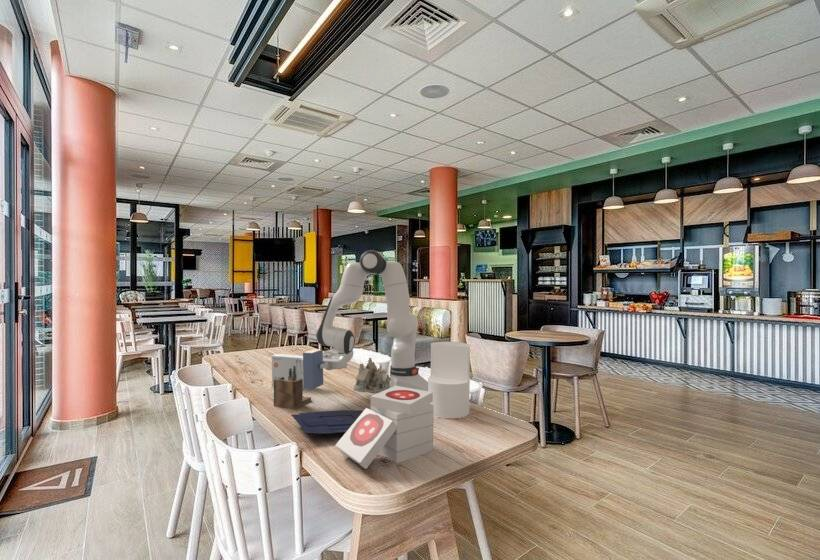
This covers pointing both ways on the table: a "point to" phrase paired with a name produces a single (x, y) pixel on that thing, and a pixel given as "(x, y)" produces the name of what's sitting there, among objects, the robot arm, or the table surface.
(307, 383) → the tall blue pillar
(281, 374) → the skincare box
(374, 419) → the pizza boxes
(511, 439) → the table surface
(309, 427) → the navy flat slab
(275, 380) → the shelf
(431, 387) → the cylinder
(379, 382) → the grey rock
